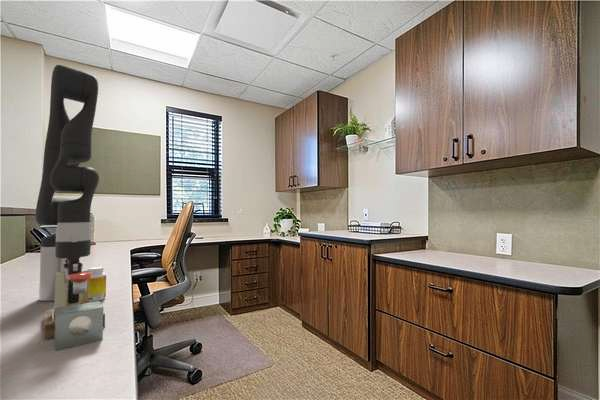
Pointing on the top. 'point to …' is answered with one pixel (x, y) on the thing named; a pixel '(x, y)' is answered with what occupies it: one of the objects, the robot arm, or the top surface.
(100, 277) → the supplement bottle
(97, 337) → the cabinet
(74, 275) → the button
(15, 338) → the top surface
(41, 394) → the top surface
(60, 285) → the skincare box
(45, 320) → the rail
